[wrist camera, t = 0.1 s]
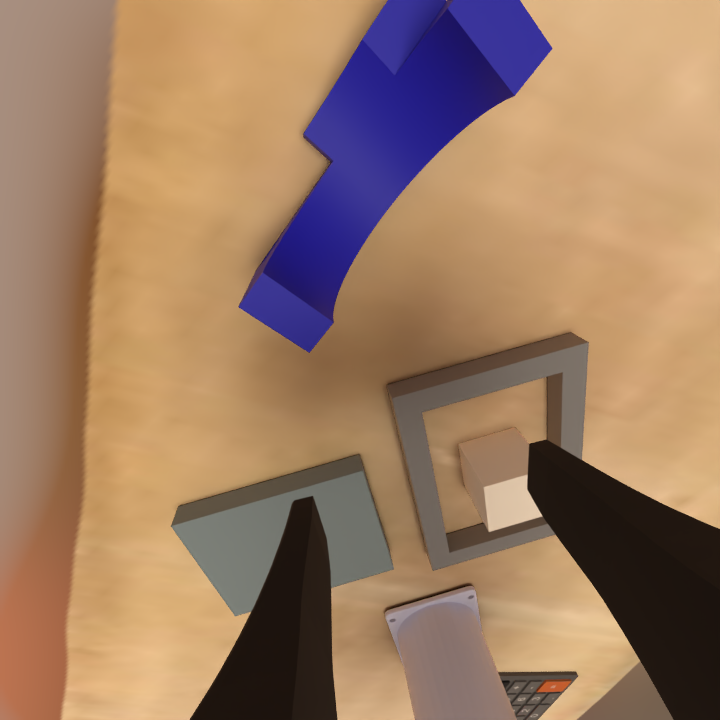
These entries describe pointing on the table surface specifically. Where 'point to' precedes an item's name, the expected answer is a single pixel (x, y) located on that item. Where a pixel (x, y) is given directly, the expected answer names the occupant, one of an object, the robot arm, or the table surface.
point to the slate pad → (267, 523)
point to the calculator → (534, 691)
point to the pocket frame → (472, 379)
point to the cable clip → (388, 140)
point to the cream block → (498, 478)
